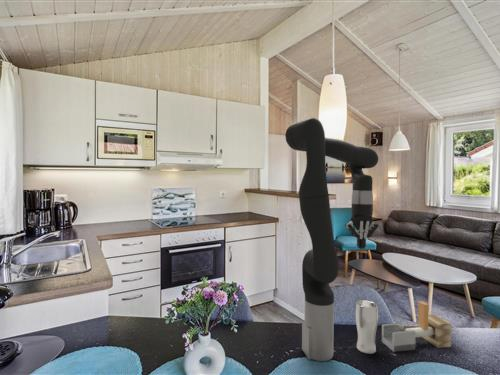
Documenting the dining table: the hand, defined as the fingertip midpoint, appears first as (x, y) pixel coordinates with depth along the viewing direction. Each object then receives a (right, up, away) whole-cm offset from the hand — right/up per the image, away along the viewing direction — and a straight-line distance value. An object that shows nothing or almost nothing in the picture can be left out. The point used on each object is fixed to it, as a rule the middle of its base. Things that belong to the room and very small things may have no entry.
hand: (361, 248), depth 110 cm
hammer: (+18, -29, -9) cm, 35 cm away
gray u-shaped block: (+9, -31, -10) cm, 34 cm away
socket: (+23, -31, -8) cm, 40 cm away
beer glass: (-3, -31, -13) cm, 34 cm away
